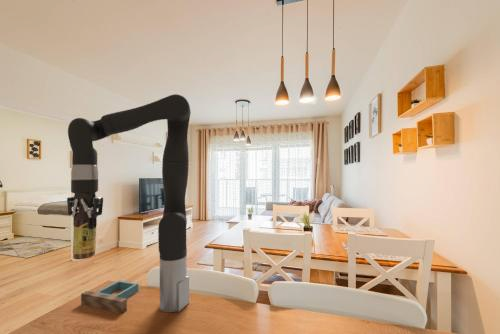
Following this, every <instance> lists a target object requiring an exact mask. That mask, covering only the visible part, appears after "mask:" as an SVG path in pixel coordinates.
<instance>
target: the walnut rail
mask: <svg viewBox="0 0 500 334" xmlns="http://www.w3.org/2000/svg"><path fill="white" fill-rule="evenodd" d="M95 292H96V291H95ZM95 292H94V291H90V290H86V291H83V292H81V293H80V294H81V295H80V305H81V306H85V307H90V308H95V309H98V310H99V309H100V310H103V311H104V310H105V311H109V312H113V313H116V314H125V312H126V311H128V310H127V309H128V308H127V307H128V306H127V305H128V298H127V299H126V298H121V297H116V296H111V295H112V294H110V295H105V294H100V293H95Z"/></svg>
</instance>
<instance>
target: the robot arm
mask: <svg viewBox="0 0 500 334" xmlns="http://www.w3.org/2000/svg"><path fill="white" fill-rule="evenodd" d="M191 112H192V111H191V106H190V103H189V100H188V99H187V98H186V97H185V96H184V95H181V94H178V93H176V94H171V95H167V96H166V97H163V98H161V99H160V98H159V99H158V100H155V101H152V102H150V103H147V104H143V105H141V106H138V107H134V108H130V109H125V110H121V111H116V112H113V113H112V112H111V113H108V114H103V115H102V117H100V119H98V120H93V121H90V120H88V119H86V118H83V117H77V118H74V119H72V120H71V121H70V123H69V124H68V128H67V136H68V141H69V146H70V149H71V152H72V156H71V172H70V176H71V177H70V186H71V187H70V192H71V193H73V194H74V196H69V197H67V198H66V202H67V214H68V216H72V218H73V221H72V222H73V223H72V225H73V226H74V220H75V217H76V215H77V214H78V213H79V198H84V199H81V203H82V204H83V207H84V210H85V212H87V214H88V216H89V218H88V228H89V229H94V228H96V229H97V226H98V225H97V224H98V223H97V222H98V221H97V217H98V216H101V215H103V206H104V197H102V196H101V197H97V195H96V193H97V192H99V170H98V151H97V150H96V149H95V147H94V146H93V145H94V144H93V143H94V142H97V141H100V140H102V139H105V138H108V137H110V136H113V135H118V134H122V133H125V132H129V131H132V130H136V129H138V128H140V127H143V126H144V125H146V124H150V123H153V122H156V121H161V120H166V122H167V135H166V142H165V146H164V150H163V155H162V161H161V162H162V164H161V165H162V167H161V175H162V185H163V189H164V190H163V191H164V207H163V212H162V217H161V218H160V220H159V223H158V228H157V230H158V232H157V233H158V237H157V238H158V253H159V310H161V312H163V313H173V312H179V313H180V312H181V311H182V310H183V309H184V308H185V307H186V306H188V304H189V303H190V276H189V275H188V274H187V267H188V265H187V261H188V259H187V258H188V257H187V256H188V255H187V254H188V251H187V250H188V249H187V224H188V221H187V211H186V194H187V187H188V180H189V179H188V178H189V164H190V163H189V161H190V160H189V159H190V158H189V157H190V154H189V144H188V143H189V142H188V141H189V140H188V133H189V131H188V130H189V124H190V117H191ZM91 207H92V208H91ZM97 210H98V211H97ZM91 211H93V213H91Z"/></svg>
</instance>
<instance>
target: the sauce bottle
mask: <svg viewBox="0 0 500 334" xmlns="http://www.w3.org/2000/svg"><path fill="white" fill-rule="evenodd" d="M81 199H84V198H79V211H78V212H79V213H78V214H77V215H76V217H75V220H74V225H73V237H72V238H73V239H72V254H73V256H72V258H73V260H85V259H90V258H92V257H93V256H95V254H96V250H97V249H96V244H97V243H96V242H97V227H96V228H94V229H89V228H88V218H89V216H88V214H87V212H85V210H84V207H83V204H82V203H81ZM91 208H93V207H91ZM91 213H93V211H91Z"/></svg>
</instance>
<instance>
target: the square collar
mask: <svg viewBox="0 0 500 334" xmlns="http://www.w3.org/2000/svg"><path fill="white" fill-rule="evenodd" d="M118 290H121V291H120V292H119V293H117V294H115V295H114V294H113V293H115V292H117V291H118ZM95 293H100V294H105V295H111V296H116V297H121V298H126V299H127V300H128V298H129V297H132V296H133V295H135V294H136V293H139V283H137V282H131V281H126V280H117V281H115V282H113V283H112V284H110V285H108V286H105V287H103V288H101V289H99V290H97V291H95Z"/></svg>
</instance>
